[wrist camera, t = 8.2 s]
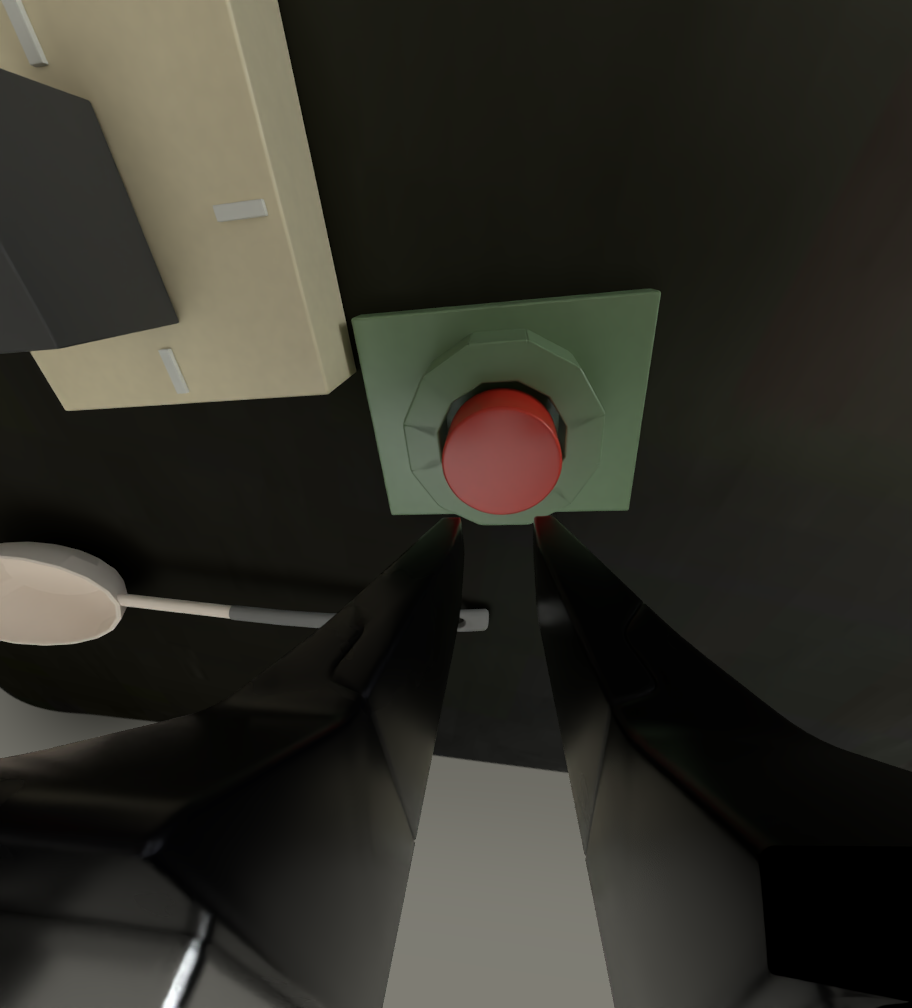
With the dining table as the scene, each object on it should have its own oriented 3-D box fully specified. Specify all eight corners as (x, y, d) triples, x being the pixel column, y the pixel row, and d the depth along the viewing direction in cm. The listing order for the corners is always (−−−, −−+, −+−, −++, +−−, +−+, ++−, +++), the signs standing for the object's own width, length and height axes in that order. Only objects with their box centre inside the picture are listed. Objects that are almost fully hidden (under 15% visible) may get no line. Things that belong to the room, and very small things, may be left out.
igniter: (396, 504, 19) (378, 543, 16) (359, 314, 15) (328, 327, 12) (623, 498, 17) (642, 540, 15) (652, 287, 13) (687, 296, 11)
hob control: (130, 388, 17) (60, 413, 14) (-42, 48, 12) (-199, -10, 9) (357, 372, 16) (327, 396, 13) (274, -19, 11) (196, -111, 8)
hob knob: (180, 322, 12) (48, 351, 9) (128, 327, 13) (-21, 357, 9) (90, 99, 10) (-147, 13, 6) (27, 111, 10) (-235, 34, 7)
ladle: (-54, 515, 21) (-170, 576, 17) (483, 528, 24) (495, 584, 20) (3, 602, 24) (-83, 671, 20) (473, 605, 27) (482, 667, 23)
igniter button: (454, 487, 15) (447, 517, 13) (443, 390, 13) (434, 410, 12) (554, 485, 15) (560, 515, 13) (557, 383, 13) (565, 402, 11)
